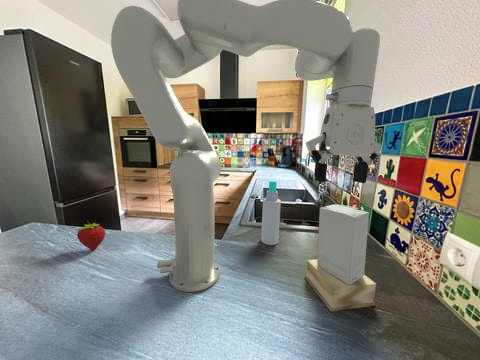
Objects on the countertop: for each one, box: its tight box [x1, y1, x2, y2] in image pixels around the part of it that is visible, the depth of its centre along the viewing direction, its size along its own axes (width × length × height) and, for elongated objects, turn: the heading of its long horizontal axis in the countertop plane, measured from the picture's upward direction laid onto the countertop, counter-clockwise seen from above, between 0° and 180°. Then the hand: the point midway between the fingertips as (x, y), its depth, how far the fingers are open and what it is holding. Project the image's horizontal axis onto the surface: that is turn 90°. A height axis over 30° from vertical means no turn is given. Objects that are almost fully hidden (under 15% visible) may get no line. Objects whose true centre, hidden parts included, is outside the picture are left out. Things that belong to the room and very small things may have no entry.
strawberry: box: [76, 221, 107, 251], centre depth 57 cm, size 6×8×10 cm
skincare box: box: [316, 204, 370, 285], centre depth 42 cm, size 8×6×15 cm
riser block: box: [304, 258, 377, 312], centre depth 44 cm, size 10×10×5 cm
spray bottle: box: [260, 180, 282, 246], centre depth 65 cm, size 6×6×22 cm
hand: (339, 181), depth 42 cm, fingers open, 9 cm apart
